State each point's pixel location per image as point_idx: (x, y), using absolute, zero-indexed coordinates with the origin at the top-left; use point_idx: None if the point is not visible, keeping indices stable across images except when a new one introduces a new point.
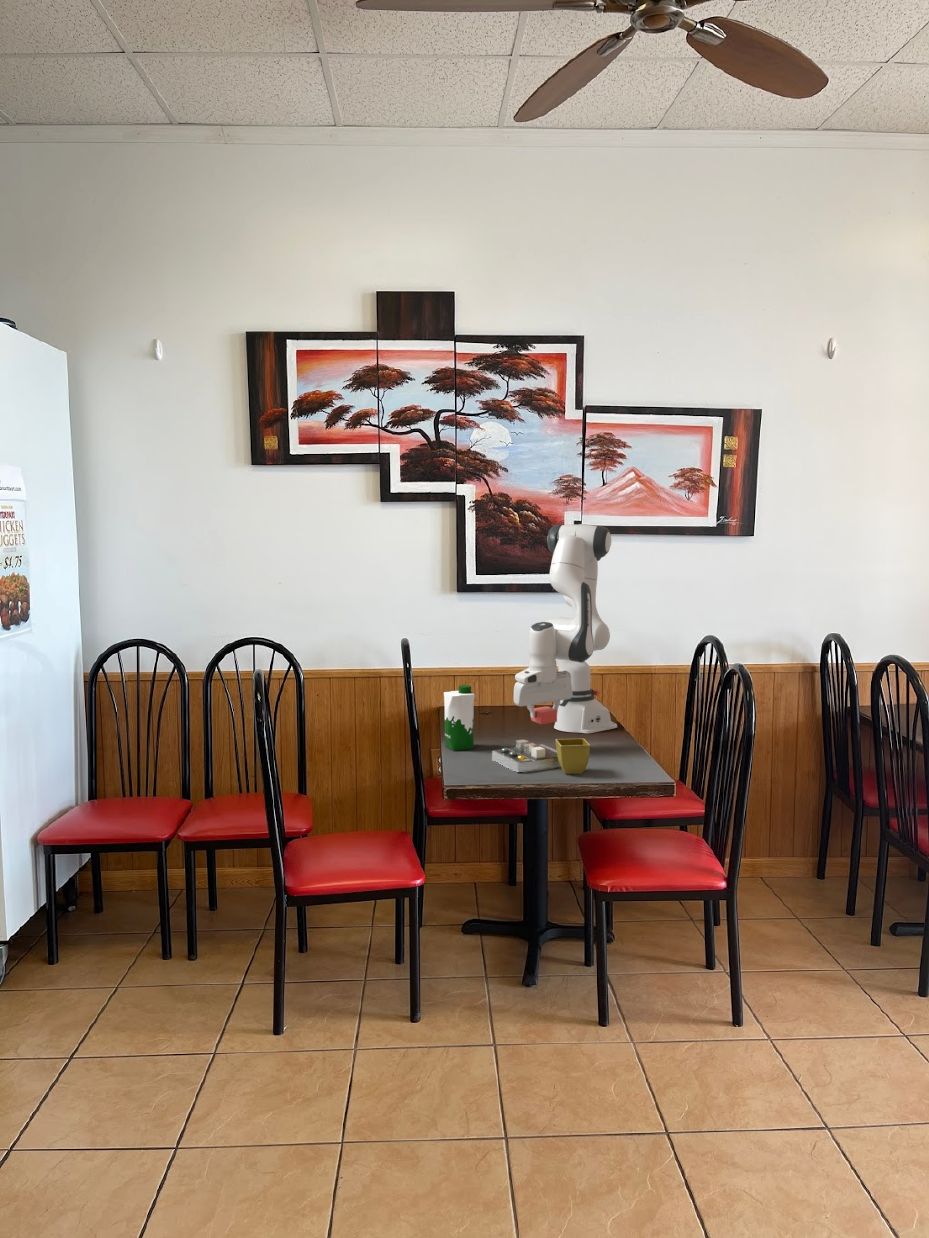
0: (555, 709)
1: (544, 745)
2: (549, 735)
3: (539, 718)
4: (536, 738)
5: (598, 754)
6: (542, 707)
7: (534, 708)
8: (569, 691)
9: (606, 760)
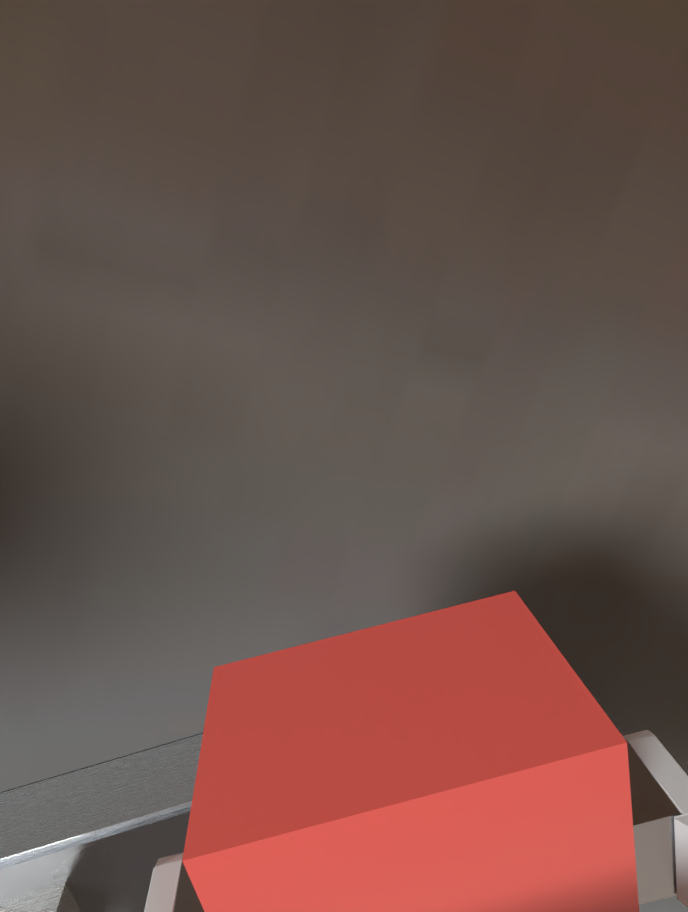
0: (675, 894)
1: None
2: (579, 41)
3: None
4: (393, 146)
5: None
6: (481, 817)
7: (272, 853)
8: None
9: None
